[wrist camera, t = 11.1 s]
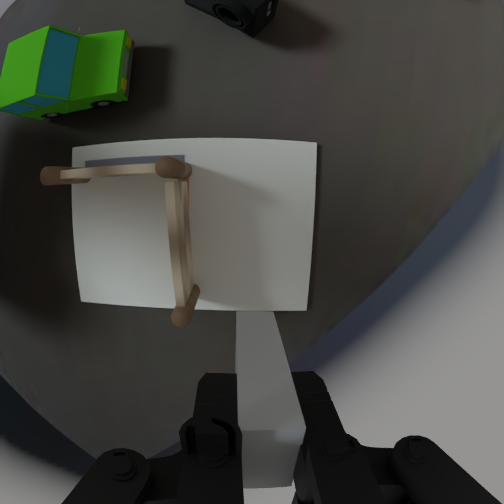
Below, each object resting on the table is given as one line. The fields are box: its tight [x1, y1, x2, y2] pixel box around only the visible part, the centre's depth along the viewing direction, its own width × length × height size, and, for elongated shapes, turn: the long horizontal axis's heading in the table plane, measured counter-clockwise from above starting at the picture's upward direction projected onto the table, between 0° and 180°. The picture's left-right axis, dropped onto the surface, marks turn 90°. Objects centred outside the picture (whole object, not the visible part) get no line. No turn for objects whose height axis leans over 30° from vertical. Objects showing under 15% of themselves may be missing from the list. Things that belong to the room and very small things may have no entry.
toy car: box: [0, 25, 135, 120], centre depth 23 cm, size 10×13×10 cm
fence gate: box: [165, 181, 200, 327], centre depth 28 cm, size 13×2×7 cm, turn 2°
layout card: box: [72, 138, 317, 311], centre depth 32 cm, size 28×19×1 cm
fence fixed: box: [40, 156, 192, 185], centre depth 26 cm, size 14×2×8 cm, turn 88°
